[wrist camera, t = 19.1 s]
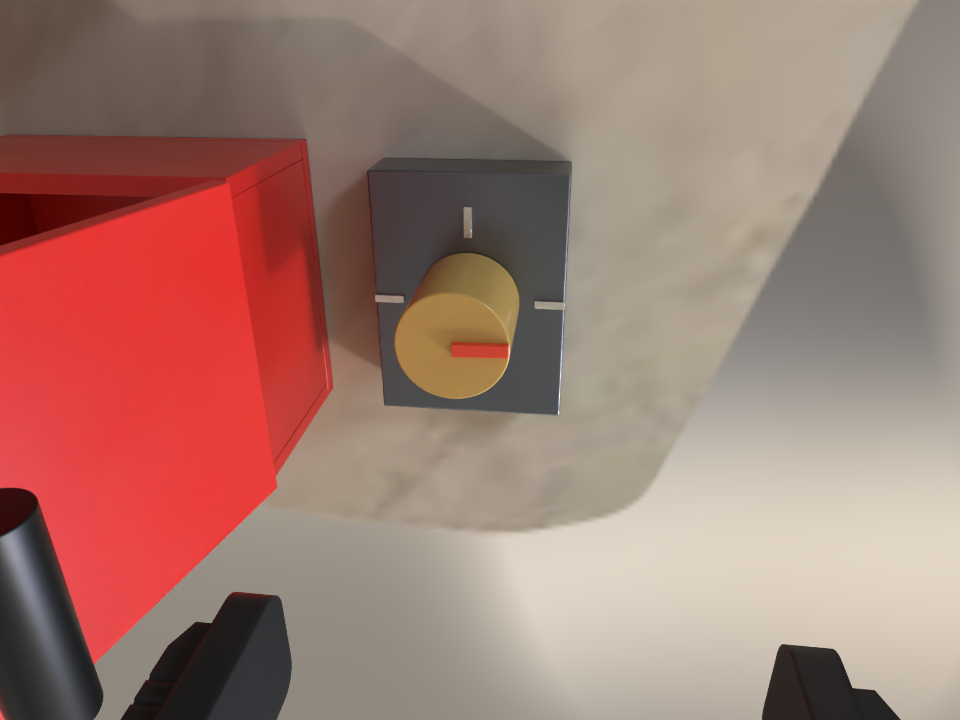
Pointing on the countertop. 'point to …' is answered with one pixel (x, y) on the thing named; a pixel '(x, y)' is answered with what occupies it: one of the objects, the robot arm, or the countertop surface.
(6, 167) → the red lidded box
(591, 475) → the countertop surface
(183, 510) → the red box lid
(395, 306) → the panel
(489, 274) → the valve knob
